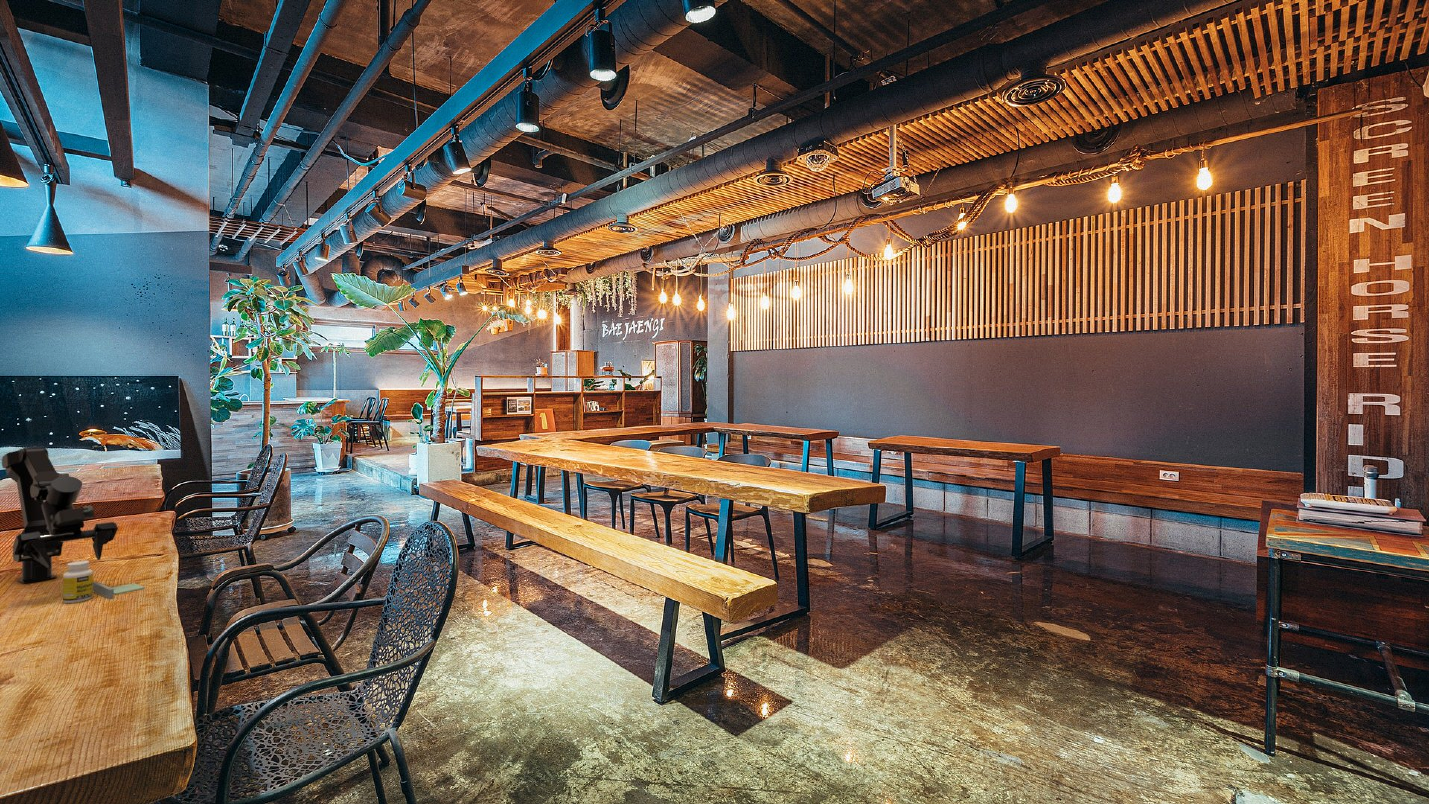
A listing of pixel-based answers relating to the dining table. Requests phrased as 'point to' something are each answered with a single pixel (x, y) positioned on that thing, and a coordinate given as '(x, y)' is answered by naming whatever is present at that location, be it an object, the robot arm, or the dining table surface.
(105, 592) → the acrylic wall
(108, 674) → the dining table surface
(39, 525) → the robot arm
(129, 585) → the coaster
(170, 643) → the dining table surface
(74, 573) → the supplement bottle
